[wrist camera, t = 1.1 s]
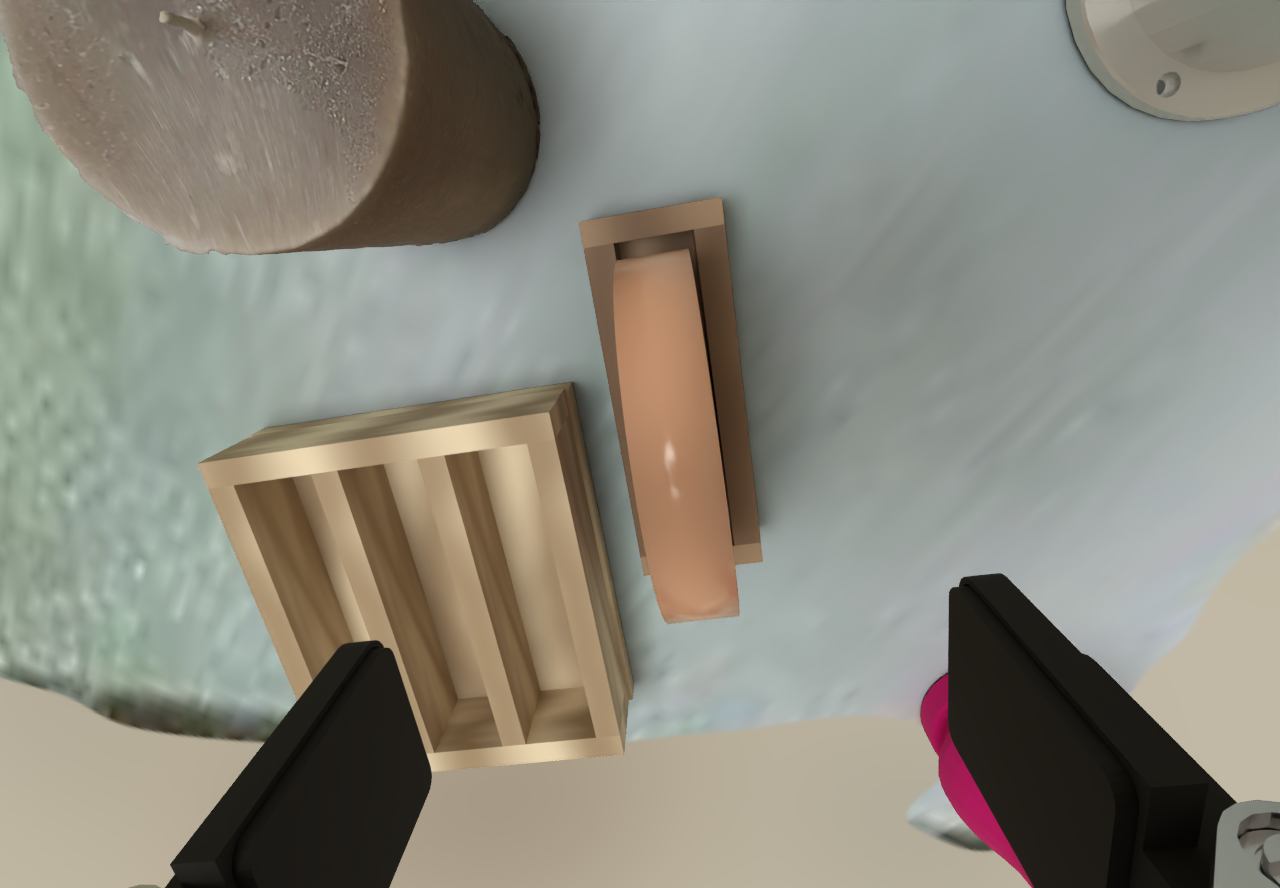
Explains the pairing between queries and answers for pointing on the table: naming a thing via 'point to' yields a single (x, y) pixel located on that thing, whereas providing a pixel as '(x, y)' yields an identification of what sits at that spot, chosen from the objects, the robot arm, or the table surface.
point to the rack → (442, 567)
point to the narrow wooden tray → (708, 250)
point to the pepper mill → (962, 777)
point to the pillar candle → (283, 116)
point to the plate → (673, 437)
